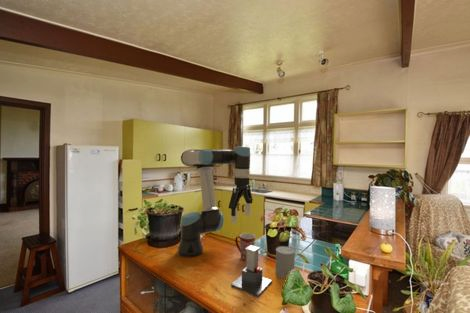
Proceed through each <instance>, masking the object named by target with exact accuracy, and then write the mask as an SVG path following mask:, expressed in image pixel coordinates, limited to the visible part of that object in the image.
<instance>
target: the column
mask: <svg viewBox="0 0 470 313" xmlns="http://www.w3.org/2000/svg"><path fill="white" fill-rule="evenodd" d="M260 250H261V247H260V246H256V245H254V246H253V245H250V246H248V247H247V248H245V251H247V261H246V266H245V268H246V271H249V272H252V273H255V272H256V268H257V267H259V251H260Z"/></svg>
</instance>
